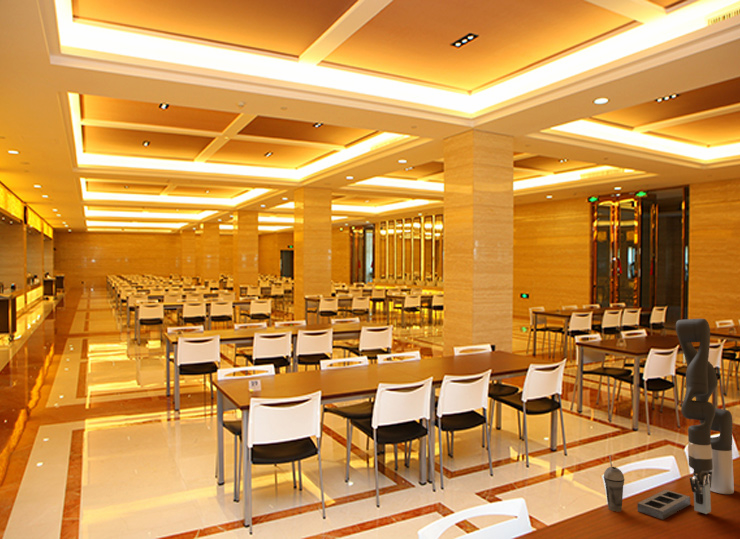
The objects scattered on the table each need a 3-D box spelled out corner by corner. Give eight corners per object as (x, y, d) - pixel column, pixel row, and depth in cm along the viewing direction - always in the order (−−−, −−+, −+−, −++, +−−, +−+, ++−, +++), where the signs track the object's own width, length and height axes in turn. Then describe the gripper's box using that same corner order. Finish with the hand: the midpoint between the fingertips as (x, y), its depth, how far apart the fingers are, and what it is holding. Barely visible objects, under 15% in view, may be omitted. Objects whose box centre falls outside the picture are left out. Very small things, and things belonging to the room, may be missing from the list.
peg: (699, 507, 190) (697, 480, 191) (711, 511, 187) (709, 483, 188) (694, 510, 188) (693, 482, 189) (706, 514, 185) (705, 486, 185)
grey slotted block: (665, 497, 203) (665, 489, 203) (690, 504, 195) (690, 496, 195) (637, 511, 190) (637, 503, 190) (662, 519, 183) (662, 511, 183)
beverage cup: (628, 514, 188) (626, 459, 189) (607, 512, 189) (605, 458, 190) (622, 505, 195) (620, 453, 196) (602, 504, 196) (600, 452, 197)
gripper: (697, 448, 196) (699, 494, 195) (680, 456, 187) (682, 503, 187) (719, 453, 190) (721, 500, 189) (703, 461, 181) (705, 510, 181)
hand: (702, 501), depth 188 cm, fingers closed on peg, 4 cm apart
